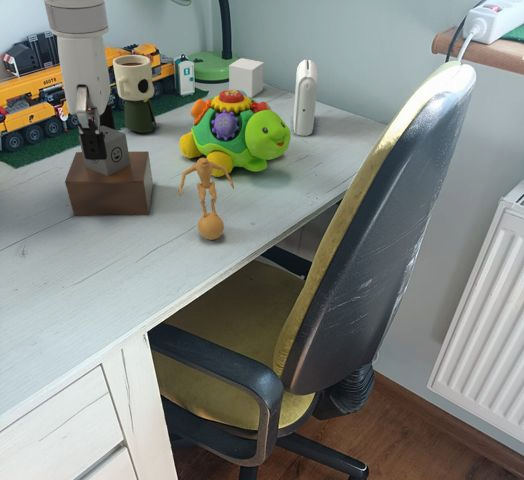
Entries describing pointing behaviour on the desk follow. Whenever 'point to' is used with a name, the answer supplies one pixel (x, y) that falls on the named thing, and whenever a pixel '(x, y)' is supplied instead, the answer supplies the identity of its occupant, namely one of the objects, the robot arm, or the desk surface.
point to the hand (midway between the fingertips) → (101, 144)
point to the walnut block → (111, 188)
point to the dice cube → (110, 153)
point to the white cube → (246, 76)
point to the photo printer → (305, 97)
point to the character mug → (135, 91)
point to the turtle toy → (235, 132)
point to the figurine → (209, 222)
